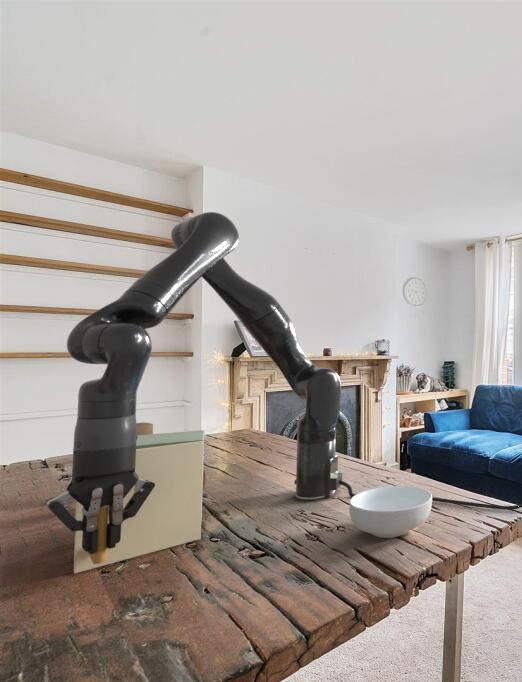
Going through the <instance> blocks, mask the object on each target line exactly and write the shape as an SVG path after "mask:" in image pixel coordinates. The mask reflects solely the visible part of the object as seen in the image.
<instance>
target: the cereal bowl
mask: <svg viewBox="0 0 522 682" xmlns="http://www.w3.org/2000/svg"><path fill="white" fill-rule="evenodd" d="M432 497H433V494H432V493H431V492H430V491H429V490H428V489H425V488H423V487H418V486H413V485H389V486H387V485H386V486H380V487H376V488H371V489H368V490H363V491H361V492H359V493H357V494H355V496H354V497H351V498H350V500H349V505H348V506H349V515H350V516H349V517H350V519H351V522H352V523H353V524H354V526H355V527H356V528H358V529H359V530H361V531H362V532H364V533H368V534H372V535H373V536H374V537H377V538H381V539H392V538H399V537H401V536H404V535H406V534H407V533H409V532H410V531H412V530H414V529H416V528H418V527H419V526H421V525H422V524H423V523H424V522H425V521H426V520H427V519H428V517H429V516H430V513H431V511H432V506H433V501H432Z"/></svg>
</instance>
